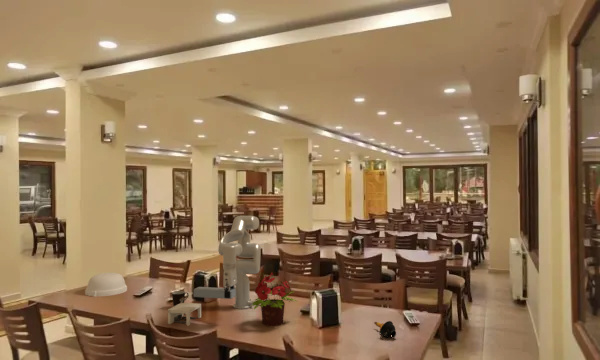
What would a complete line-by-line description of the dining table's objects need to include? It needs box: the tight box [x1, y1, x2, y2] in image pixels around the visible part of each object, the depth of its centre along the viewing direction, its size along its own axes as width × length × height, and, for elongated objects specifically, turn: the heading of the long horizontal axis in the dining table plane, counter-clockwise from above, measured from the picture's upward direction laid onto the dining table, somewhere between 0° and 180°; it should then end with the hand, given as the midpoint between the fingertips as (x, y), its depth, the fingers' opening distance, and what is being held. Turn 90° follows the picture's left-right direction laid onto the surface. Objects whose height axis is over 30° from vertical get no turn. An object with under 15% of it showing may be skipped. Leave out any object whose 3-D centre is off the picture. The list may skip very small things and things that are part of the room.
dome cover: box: [84, 272, 128, 298], centre depth 338 cm, size 32×30×14 cm
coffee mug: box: [171, 290, 189, 307], centre depth 292 cm, size 12×9×10 cm
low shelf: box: [167, 302, 202, 326], centre depth 263 cm, size 14×16×8 cm
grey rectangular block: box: [193, 286, 236, 300], centre depth 259 cm, size 24×6×4 cm, turn 76°
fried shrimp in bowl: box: [373, 320, 397, 339], centre depth 237 cm, size 9×11×18 cm
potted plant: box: [252, 271, 297, 327], centre depth 256 cm, size 30×27×30 cm
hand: (229, 296), depth 257 cm, fingers closed on grey rectangular block, 6 cm apart
